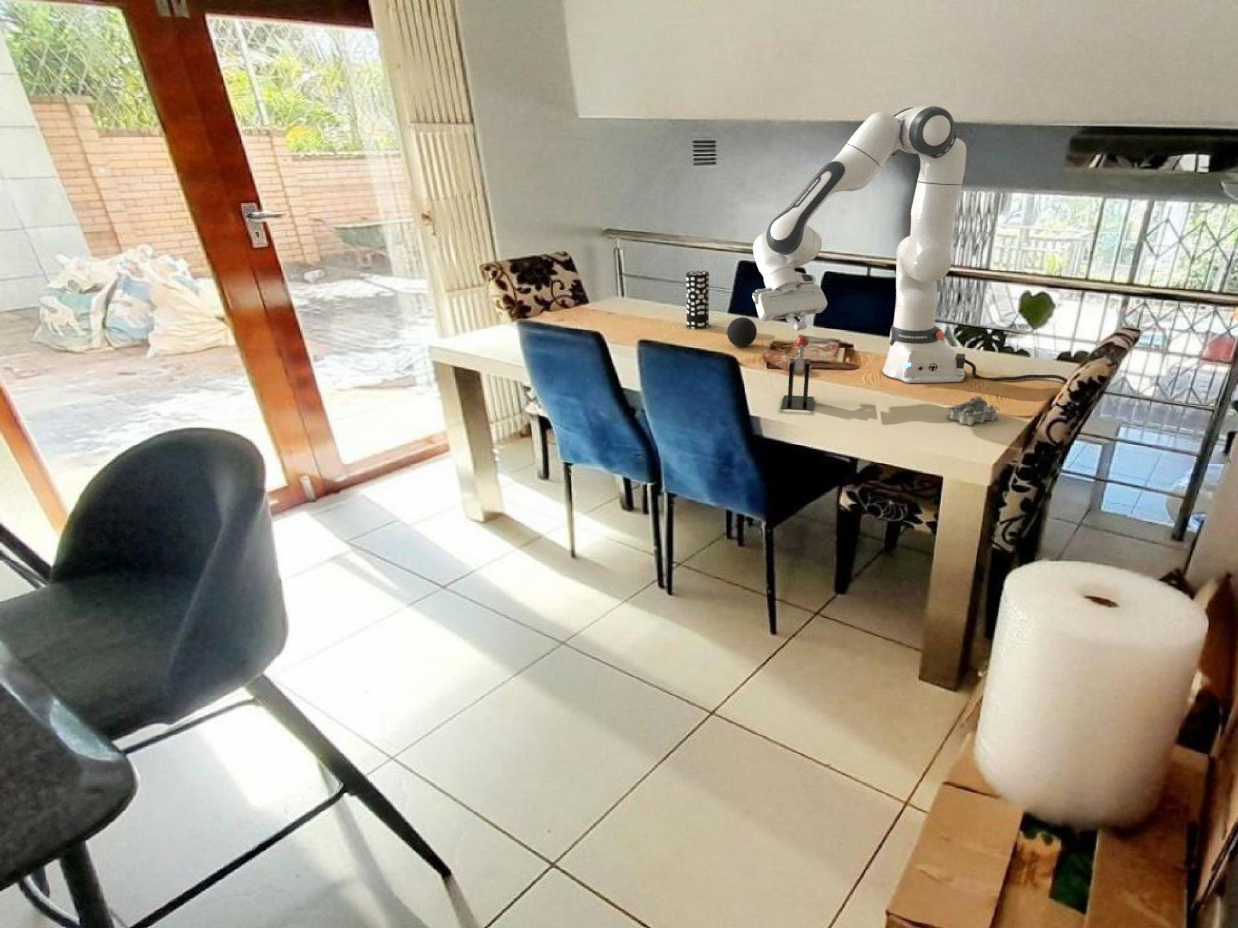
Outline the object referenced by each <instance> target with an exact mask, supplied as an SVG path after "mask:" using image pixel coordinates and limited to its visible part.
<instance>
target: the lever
mask: <svg viewBox="0 0 1238 928" xmlns="http://www.w3.org/2000/svg"><path fill="white" fill-rule="evenodd" d="M809 341H810V340H809V338H808V337H807V336H804V335H802V336H799V337H798V338H797V339H796V346H797V347H798V348H799V349H798V357H799V358H798V361H797V360H796V363H795V374H794V375H804V374H805V370H804V361H803V359H804V351H805V348H807V347H808V346H809Z"/></svg>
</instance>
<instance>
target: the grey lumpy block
mask: <svg viewBox="0 0 1238 928" xmlns="http://www.w3.org/2000/svg"><path fill="white" fill-rule="evenodd" d="M947 409H949V411H950V413H949V420H954V421H959V423H960V424H962V425H967V426H973V425H974V423H980V424H982V423H984V422H985V421H995V419H996V414H997V412H996V411H997V410H1000V408H999V407H998V406H996V407H995V406H994V405H993V404H991V405H990V406H989V405H988V402H987V401H986V399H983V398H982V396H981V395H980V396H975V397H972V398H970V399H969V401H964V402H963V403H960V404H956V405H953V406H950V407H947Z"/></svg>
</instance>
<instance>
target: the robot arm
mask: <svg viewBox="0 0 1238 928" xmlns="http://www.w3.org/2000/svg"><path fill="white" fill-rule="evenodd" d="M897 151H898V152H904V153H908V154H911V155H918V157H919V162H920V170H919V173H918V177H917V181H916V186H915V192H914V195H913V200H912V205H911V210H910V233H909V235H908V236H906V237H905V238H903V239H902V240H901V241H899V244H898V246H897V248H896V264H895V267H896V271H895V290H896V291H895V295H896V296H895V308H894V317H893V323H892V324H891V328H890V332H889V340H888V341H889V350H888V352H887V356H886V359H885V363H884V365H883V367H882V369H881V372H882V374H883V375H885V376H887V377H890V378H892V379H896V380H900V381H902V382H905V383H907V384H919V383H921V384H923V383H924V384H925V383H928V384H931V383H960V382H963V381H964V380H965V377H966V374H965V371H964V369H965V364H967V365H968V366H970V367H971V370H972V371H971V375H972V376H973V377H974V378H975V379H978V380H986V381H992V382H993V381H994V382H995V381H996V382H998V381H1018V380H1024V379H1025V380H1026V379H1057V380H1060V381H1062V382H1064V383H1065V384H1066V382H1067V380H1068V379H1067V378H1066V377H1065V376H1062V375H1058V374H1024V375H1018V376H1017V375H1016V376H996V377H983V376H980V375H979V374H977V366H976V365H975V363H973V362H971V360H968V359H966V353H960V352H959V353H958V352H957V353H956V352H955V351H954V350H953V349H952V348H951V347H950V346H948V345H947V344H946V343H945V342H943V341H942V340H943V338H944V337H945V332H944V331H943V330H942V329H941V328H939V327H938V326H936V325H935V323H936V317H937V311H938V303H939V296H938V283H937V282H938V281H940V280H942V279H943V278H945V277H946V276H947V275H948V273H949V271H950V269H951V267H952V249H953V239H954V238H953V237H954V225H955V216H956V211H957V206H958V202H959V198H960V194H961V191H962V184H963V182H964V181H963V180H964V177H965V170H966V162H967V146H966V143H965V141H963V140H962V139H961V138H958V137H957V135H956V129H955V121H954V118H953V116H952V114H951V113H950V112H949V111H948V110H947V109H945V108H944V107H941V106H937V105H935V106H934V105H918V106H916V107H915V106H914V107H907V108H905V109H902V110H900V111H899V112H897V113H895V114H893V115H892V114H891V113H888V112H885V111H877V112H874V113H872V114H871V115H870V116H868V118H867V119H866V120H864V121H863V123H861V125H860V126H859V127H857V129H856V130H855V132H854V133H853V134H852V135H851V136H850V138H849V139H848V140H847V142H846V143H845V144H844V146H843V147H842V149H841V151H839V153H838V154H837V155H836V156H835V157H834V158H833V159H832V160H831V161H830V162H828V163H827V164H825V165H824V166H822V168H820V169H819V171H817V173H816V174H815V175H814V176H813V178H812V179H811V180H810V181H809V182H808V184H806V186H805V187H804V188H803V189H802V190H801V192H800V193H799V194H798V195H797V196H796V198H794V200H793V201H792V202H791V203H790V205H788V206H787V208H785V209H784V210H783V211H781V212H780V213H779V214H778V215H776V216H775V217H774V218H773V219H772V220H771V221H770V224H769V225H768V228H767V230H766V231H765V232H762V233H761V234H760V235H758V237H756V239H755V240H754V242H753V245H752V253H753V258H754V261H755V263H756V267H757V269H758V272H759V273H760V274H761V276H762V277H763V283H764V286H765V288H757V289H755V290H754V292H752V295H751V296H752V299H753V302H754V304H755V308H756V312H757V317H758V318H759V320H760V321H762V322H764V323H765V322H770V321H771V322H772V321H777V320H784V319H786V322H787V323H789V324H790V325H791V326H792V327H793V329H794V331H801V330H806V329H807V327H808V325H807V322H806V319H807V316H809V315H815V314H820V313H823V311H825V309H826V308H827V306H828V301H827V298H826V295H825V293H824V292H823V289H822V288H821V287H820V285H818V284H817V283H816V281H817V279H816V277H815V275H813V274H809V273H803V272H800V271H796V270H795V269H797V268H799V267H803V266H805V265H807V264H809V263H810V262H813V260H815V259H816V258H817V257H818V255H819V253H820V251H821V248H822V239H821V236H820V234H819V233H818V232H817V231H816V230H814V229H813V228H812V227H811V226H809V225H808V222H809V221H810V219H811V218H812V217H813V216H814V215H815V214H816V212H817V211H818V210H819V209H820V207H821V206H822V205H823V204H824V203H825V201H826V200H827V199H828V198H829V197H830V196H832V195H834V194H835V193H839V192H856V191H859V190H862V189H864V188H865V187H866V186H868V184H870V183H871V181H873V180H874V178H875V177H876V175H877V174H878V173H879V172H880V171H881V168H882V167H883V166H884V165H885V163H886V161H887V160H888V158H889V157H891V156H892V154H893V153H895V152H897ZM796 317H797V319H798V320H799V321H798V320H797V319H796Z"/></svg>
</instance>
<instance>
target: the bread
mask: <svg viewBox="0 0 1238 928" xmlns="http://www.w3.org/2000/svg"><path fill="white" fill-rule="evenodd" d="M761 358H762V360H763V361H765V362H767V363H769V364H770V365H772V366H775V367H777V368H780V369H781V370H783V371H785V372H787V373H789V370H788V364H790V360H791V358H795V361H794V375H796V374H795V363H796V360H797V361H798V358H799V356H796V355H794V354H789V353H787V352H782V351H779V350H774V349H765V351H763V353H762V354H761ZM803 361H804V371H805V364H806V359H804V358H803Z"/></svg>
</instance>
